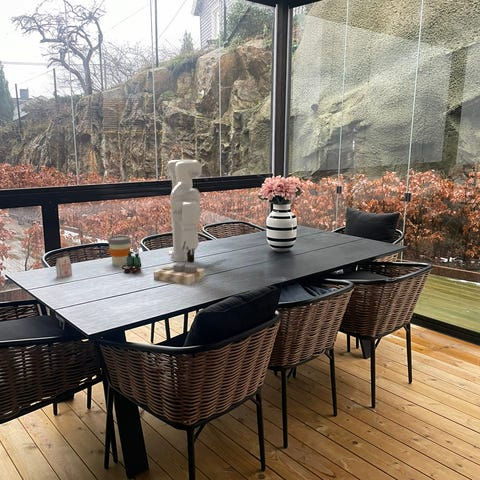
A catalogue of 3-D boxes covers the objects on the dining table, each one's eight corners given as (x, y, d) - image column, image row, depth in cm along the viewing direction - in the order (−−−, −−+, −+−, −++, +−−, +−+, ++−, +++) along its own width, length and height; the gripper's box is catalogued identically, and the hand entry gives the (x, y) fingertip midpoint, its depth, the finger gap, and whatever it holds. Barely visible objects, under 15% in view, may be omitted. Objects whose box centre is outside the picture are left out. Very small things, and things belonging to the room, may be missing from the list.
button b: (173, 272, 251) (173, 265, 250) (178, 270, 254) (178, 263, 254) (180, 273, 249) (180, 266, 248) (185, 271, 253) (185, 264, 252)
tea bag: (56, 276, 255) (55, 258, 253) (68, 273, 260) (66, 255, 258) (60, 277, 253) (59, 259, 251) (72, 275, 258) (70, 256, 256)
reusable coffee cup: (112, 266, 274) (110, 241, 271) (107, 261, 285) (105, 237, 282) (134, 264, 280) (132, 238, 277) (128, 259, 291) (127, 235, 288)
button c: (185, 274, 248) (185, 266, 247) (189, 272, 252) (189, 264, 251) (192, 275, 246) (192, 267, 245) (197, 273, 250) (196, 265, 249)
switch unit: (154, 279, 249) (153, 271, 249) (171, 271, 264) (170, 264, 263) (189, 284, 241) (189, 276, 240) (204, 276, 255) (204, 268, 254)
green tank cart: (118, 256, 257) (128, 251, 266) (120, 275, 260) (130, 269, 269) (133, 258, 254) (142, 252, 263) (135, 276, 257) (144, 270, 266)
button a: (162, 275, 254) (162, 268, 253) (167, 273, 258) (166, 266, 257) (169, 276, 252) (169, 269, 251) (174, 274, 256) (173, 267, 255)
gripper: (191, 224, 252) (192, 258, 256) (175, 228, 239) (176, 264, 242) (203, 225, 249) (204, 259, 252) (188, 229, 235) (189, 266, 239)
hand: (190, 262), depth 247 cm, fingers closed
